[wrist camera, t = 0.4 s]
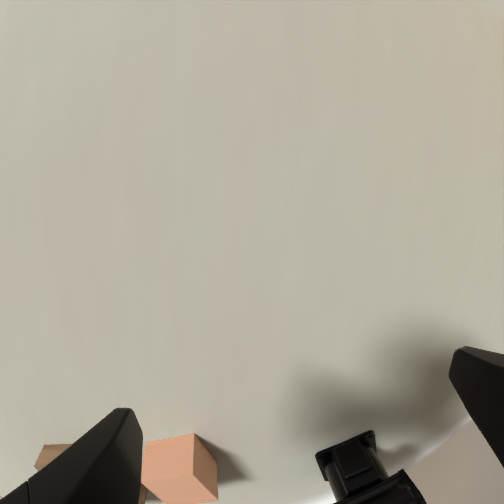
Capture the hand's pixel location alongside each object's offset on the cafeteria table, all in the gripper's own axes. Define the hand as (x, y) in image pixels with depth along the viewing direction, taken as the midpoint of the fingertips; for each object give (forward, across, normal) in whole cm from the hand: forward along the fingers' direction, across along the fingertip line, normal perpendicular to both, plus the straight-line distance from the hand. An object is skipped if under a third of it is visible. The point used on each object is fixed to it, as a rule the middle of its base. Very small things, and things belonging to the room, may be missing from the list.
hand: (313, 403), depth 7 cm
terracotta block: (+14, +8, +18) cm, 24 cm away
